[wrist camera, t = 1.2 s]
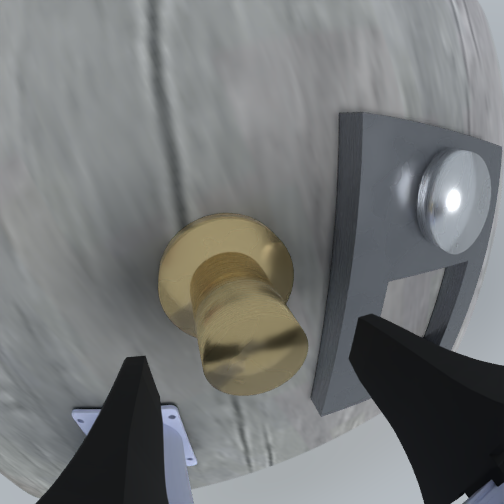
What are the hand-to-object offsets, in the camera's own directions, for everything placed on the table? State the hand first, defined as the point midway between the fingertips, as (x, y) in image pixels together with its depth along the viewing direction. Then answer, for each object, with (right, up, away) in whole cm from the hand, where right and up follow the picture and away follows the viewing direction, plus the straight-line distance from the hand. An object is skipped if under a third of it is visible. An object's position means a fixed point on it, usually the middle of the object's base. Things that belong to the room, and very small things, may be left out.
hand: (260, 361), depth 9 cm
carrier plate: (+11, +2, +9) cm, 14 cm away
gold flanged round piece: (-2, +2, +6) cm, 6 cm away
